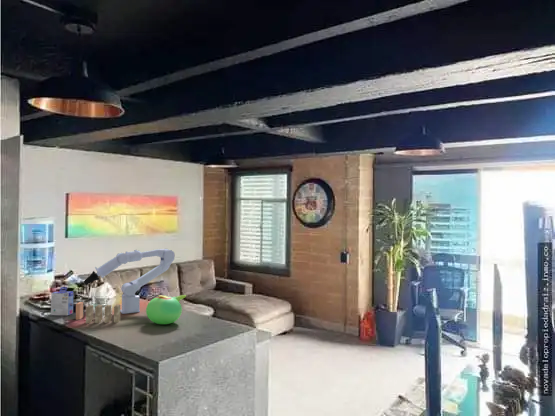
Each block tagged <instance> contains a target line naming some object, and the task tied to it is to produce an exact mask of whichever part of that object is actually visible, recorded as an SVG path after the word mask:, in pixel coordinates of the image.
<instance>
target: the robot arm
mask: <svg viewBox="0 0 555 416" xmlns="http://www.w3.org/2000/svg"><path fill="white" fill-rule="evenodd" d="M152 257H159V258H160V262H159V265H157V266H155V267H154V268H153V269H151V270H149V271H147V272H146V273H145V274H143V275H141V276H139V277H138V278H136V279H134V280H131V281H130V282H125V283H123V284H122V286H121V289H120V290H121V292H122V294H121V309H120V314H122V315H123V314H132V313H134V314H135V313H140V311H141V310H140V309H141V307H140V306H141V305H140V304H141V303H140V295H139V294H138V295H136V293H137V291H139V290H140V289H141V287H144V285H147V284H148V283H149V282H151V281H152V280H154V279H156V278H158V276H160V275H162V274H163V273H165V272H166V271H168V270H169V269H170V266H171V264H172V263H173V262H174V261H175V252H174V251H173V250H172V249H168V248H157V249H152V250H147V251H140V250H137V249H135V250H133V251H125V252H120V253H117V254H116V256H115V257H113V258H111V259H110V260H108V261H107V262H105V263H104V264H102V265H100V266H99V267H96V266H95V267H94V268H95V270H93V271H92V272H91V274H90V275H89V276H88V277H87V278H85V279H84V281H83V282H84V283H83V284H85V285H89V284H91V283H93V282H95V281H100V280H101V279H100V278H102V279H103V278H105V277H106V276H108V275H109V274H110V273H112V272H113V271H115V270H116V269H119V267H120V266H121V265H125V264H128V263H132V262H134V263H135V262H138V261H141V260H142V259H143V258H152ZM95 271H96V272H95ZM99 277H100V278H99Z"/></svg>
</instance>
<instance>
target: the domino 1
mask: <svg viewBox="0 0 555 416" xmlns="http://www.w3.org/2000/svg"><path fill="white" fill-rule="evenodd" d="M82 318H84V301H80V302H77V303H75V320H76V321H77V320H79V321H80V320H81V319H82Z"/></svg>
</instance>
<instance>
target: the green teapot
mask: <svg viewBox="0 0 555 416" xmlns="http://www.w3.org/2000/svg"><path fill="white" fill-rule="evenodd" d="M186 297H187V295H186V294H181V295H178V296H171V295H166V294H164V295H159V294H158V295H157V296H156V297H153V298H152V299H151V300H150V301H149V302H148V303H147V305H146V309H145V312H146V316H147V319H149V320H150V321H151V322H152V323H154V324H157V325H170V324H173V323H175V322H176V321H178V320H179V319H180V317H181V315H182V313H183V308H182V304H181V303H180V301H182V300H183V299H185V298H186Z"/></svg>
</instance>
